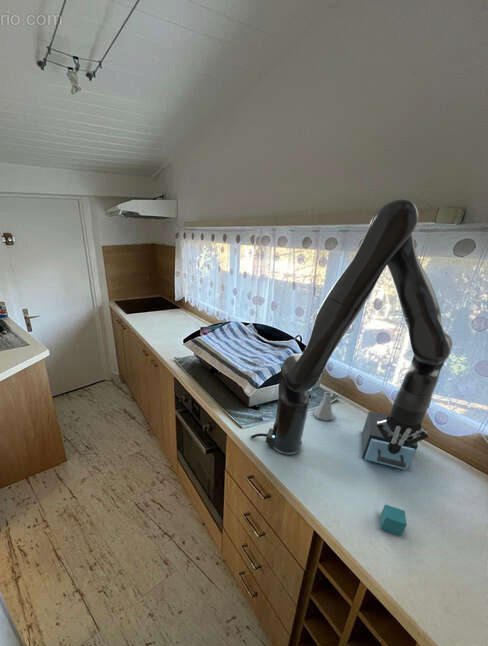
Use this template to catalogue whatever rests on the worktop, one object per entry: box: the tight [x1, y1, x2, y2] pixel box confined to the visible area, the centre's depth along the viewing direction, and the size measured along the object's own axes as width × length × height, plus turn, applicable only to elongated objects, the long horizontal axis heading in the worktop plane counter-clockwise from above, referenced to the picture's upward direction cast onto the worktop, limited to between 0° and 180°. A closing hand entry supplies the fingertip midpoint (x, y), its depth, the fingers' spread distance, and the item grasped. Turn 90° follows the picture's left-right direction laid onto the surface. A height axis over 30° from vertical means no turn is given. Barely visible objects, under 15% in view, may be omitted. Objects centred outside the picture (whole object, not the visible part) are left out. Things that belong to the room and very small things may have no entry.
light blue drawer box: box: [364, 437, 416, 471], centre depth 97 cm, size 18×11×8 cm, turn 154°
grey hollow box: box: [361, 410, 419, 468], centre depth 101 cm, size 15×13×10 cm
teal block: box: [379, 504, 408, 537], centre depth 77 cm, size 4×4×4 cm
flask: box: [313, 391, 334, 421], centre depth 119 cm, size 7×7×10 cm
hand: (392, 452), depth 92 cm, fingers closed
